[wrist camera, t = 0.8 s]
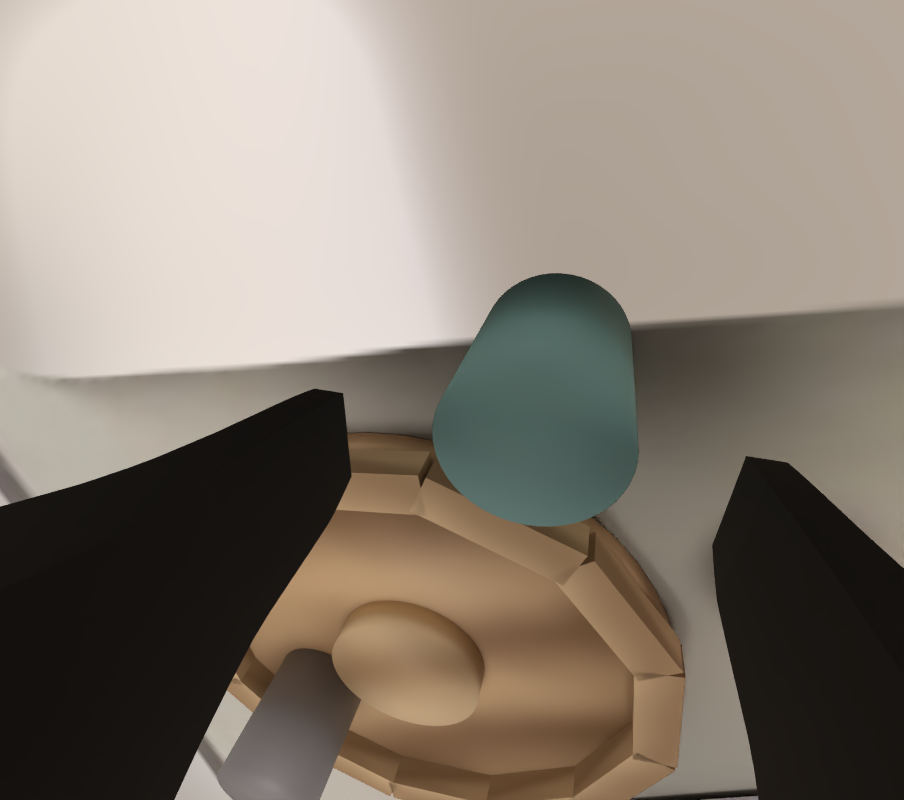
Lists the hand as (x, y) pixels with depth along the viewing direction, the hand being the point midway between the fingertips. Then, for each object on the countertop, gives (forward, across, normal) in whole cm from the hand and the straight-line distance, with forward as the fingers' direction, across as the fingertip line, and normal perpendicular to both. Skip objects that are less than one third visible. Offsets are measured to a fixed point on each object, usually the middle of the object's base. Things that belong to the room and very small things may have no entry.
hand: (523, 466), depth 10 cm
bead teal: (+6, 0, 0) cm, 6 cm away
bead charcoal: (+5, +8, +18) cm, 20 cm away
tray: (+6, +4, +14) cm, 16 cm away
